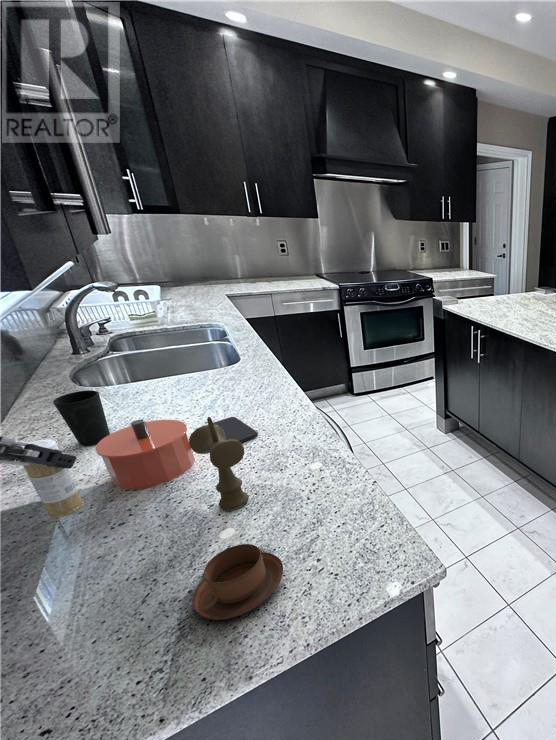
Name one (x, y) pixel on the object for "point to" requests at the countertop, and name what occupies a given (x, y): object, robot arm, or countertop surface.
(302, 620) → the countertop surface
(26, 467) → the sprinkles bottle
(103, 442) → the pot lid
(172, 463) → the pot
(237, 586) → the cup and saucer
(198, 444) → the kendama
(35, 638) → the countertop surface
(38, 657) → the countertop surface
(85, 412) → the cup
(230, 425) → the phone
